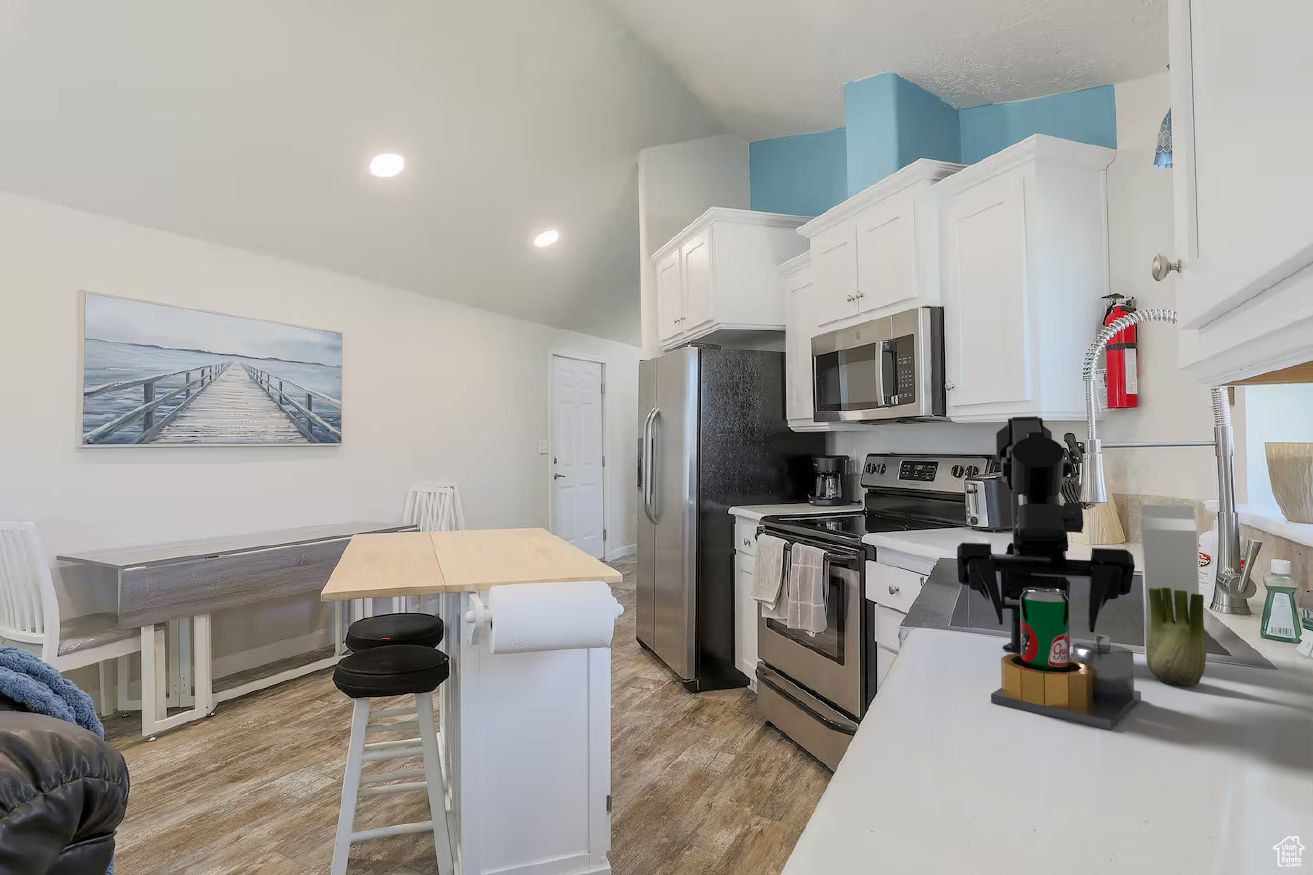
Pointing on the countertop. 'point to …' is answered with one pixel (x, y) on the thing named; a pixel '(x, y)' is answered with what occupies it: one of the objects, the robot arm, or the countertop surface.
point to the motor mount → (1074, 685)
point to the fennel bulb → (1176, 637)
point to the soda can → (1045, 629)
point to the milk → (1168, 554)
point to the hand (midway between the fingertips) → (1045, 626)
